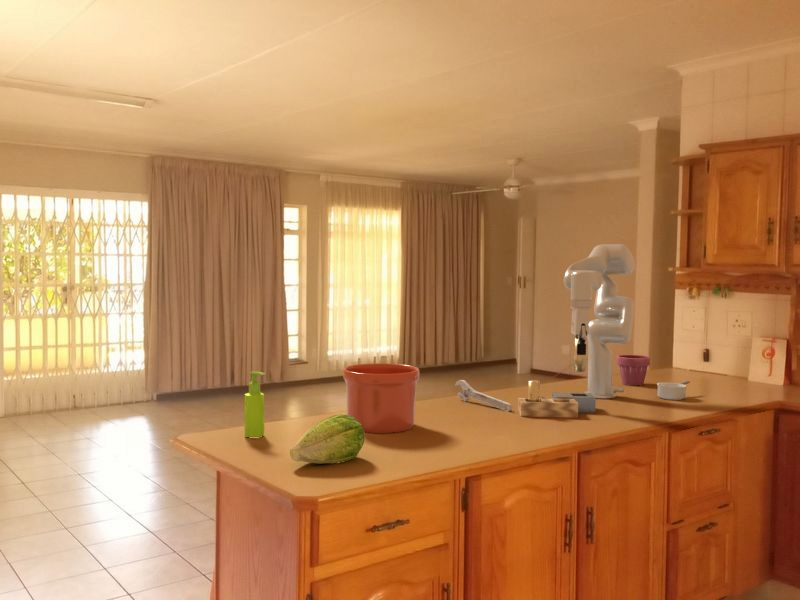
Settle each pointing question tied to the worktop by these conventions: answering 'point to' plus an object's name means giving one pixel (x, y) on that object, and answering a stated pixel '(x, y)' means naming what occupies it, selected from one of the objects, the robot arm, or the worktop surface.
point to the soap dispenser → (254, 408)
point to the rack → (548, 408)
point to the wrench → (480, 396)
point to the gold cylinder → (579, 360)
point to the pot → (381, 396)
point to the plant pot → (633, 368)
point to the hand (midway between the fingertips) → (580, 353)
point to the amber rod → (533, 390)
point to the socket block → (578, 400)
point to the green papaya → (330, 441)
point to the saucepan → (672, 390)
